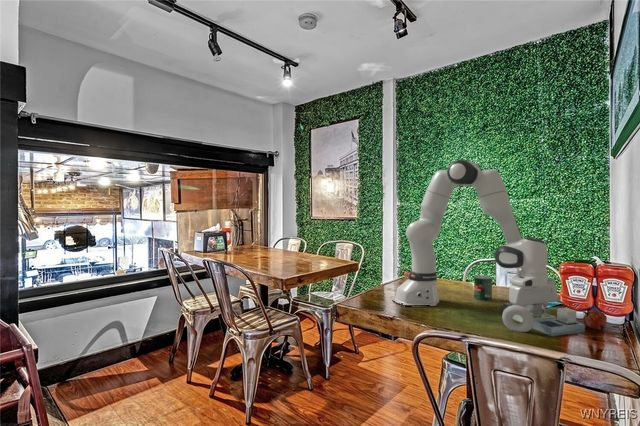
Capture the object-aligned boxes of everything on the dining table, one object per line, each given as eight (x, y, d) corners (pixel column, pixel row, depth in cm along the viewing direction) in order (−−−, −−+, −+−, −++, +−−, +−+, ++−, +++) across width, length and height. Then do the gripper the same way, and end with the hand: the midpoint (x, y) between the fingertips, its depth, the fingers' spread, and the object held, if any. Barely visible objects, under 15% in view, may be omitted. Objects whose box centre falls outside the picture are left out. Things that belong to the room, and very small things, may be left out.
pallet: (552, 338, 117) (552, 328, 117) (532, 330, 125) (532, 321, 125) (585, 334, 121) (585, 324, 121) (563, 326, 129) (564, 317, 129)
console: (516, 317, 139) (516, 308, 139) (503, 312, 146) (503, 303, 146) (530, 316, 141) (530, 306, 141) (516, 311, 148) (516, 301, 148)
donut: (501, 331, 125) (501, 304, 125) (502, 328, 128) (502, 301, 127) (533, 337, 119) (533, 309, 119) (534, 334, 122) (534, 306, 121)
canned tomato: (471, 299, 167) (471, 276, 167) (478, 296, 172) (478, 274, 172) (487, 302, 161) (488, 279, 161) (494, 299, 166) (494, 277, 166)
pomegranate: (599, 332, 129) (574, 313, 132) (615, 320, 126) (589, 301, 129) (603, 341, 123) (576, 321, 126) (620, 328, 120) (592, 308, 123)
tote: (529, 328, 128) (529, 320, 127) (511, 320, 136) (511, 312, 136) (556, 324, 131) (556, 316, 131) (536, 317, 139) (536, 310, 139)
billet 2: (567, 331, 122) (567, 311, 122) (556, 327, 126) (557, 308, 125) (576, 330, 123) (576, 310, 123) (565, 326, 127) (565, 307, 126)
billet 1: (533, 323, 131) (533, 305, 131) (524, 320, 135) (524, 302, 135) (541, 322, 132) (542, 304, 132) (532, 319, 136) (533, 301, 136)
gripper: (547, 276, 139) (547, 309, 139) (506, 279, 133) (505, 314, 134) (562, 279, 133) (561, 314, 133) (519, 282, 127) (519, 319, 128)
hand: (533, 314), depth 133 cm, fingers open, 7 cm apart
